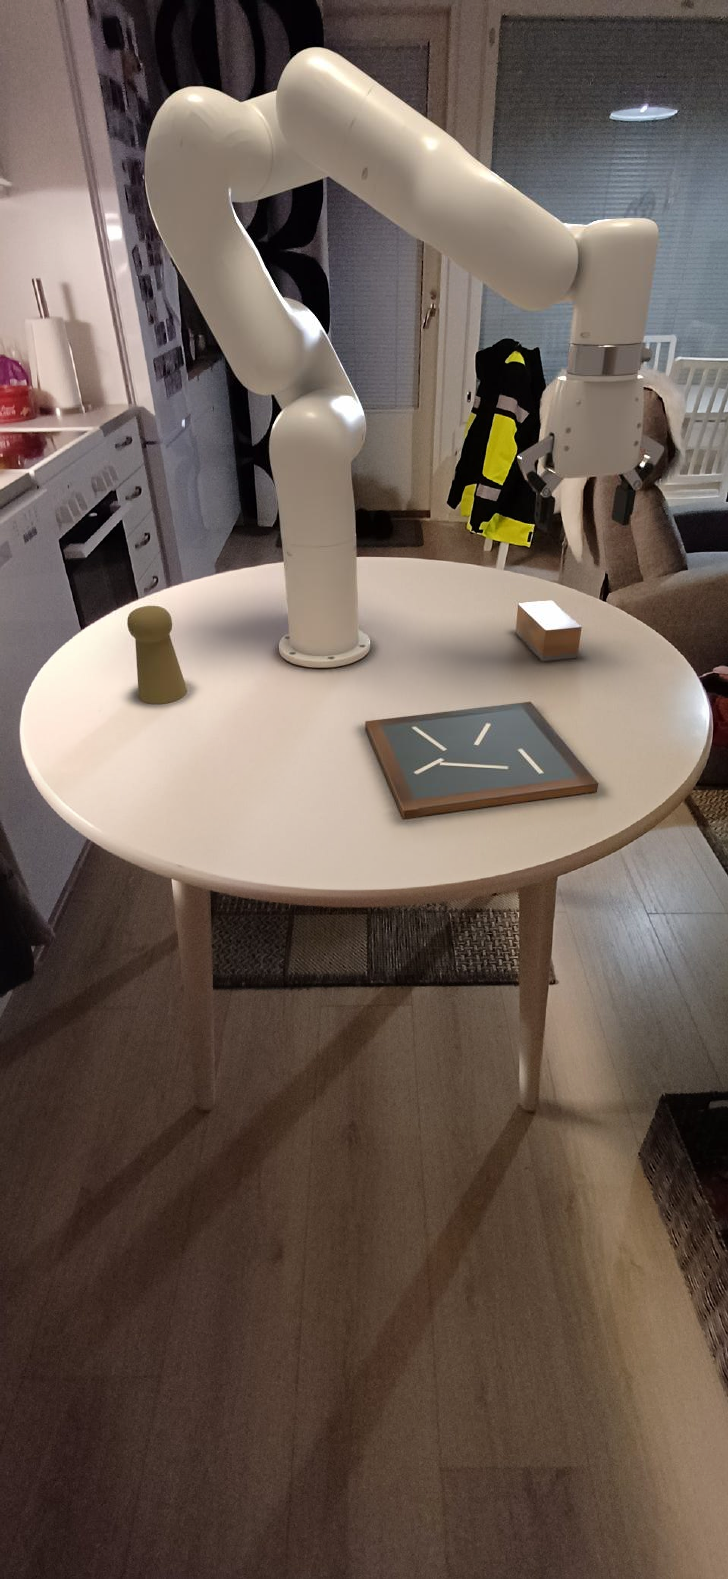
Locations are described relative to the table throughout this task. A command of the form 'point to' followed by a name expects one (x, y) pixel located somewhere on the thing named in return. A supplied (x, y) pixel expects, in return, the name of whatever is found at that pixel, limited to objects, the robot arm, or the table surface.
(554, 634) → the eraser
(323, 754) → the table surface
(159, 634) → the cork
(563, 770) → the chalkboard
